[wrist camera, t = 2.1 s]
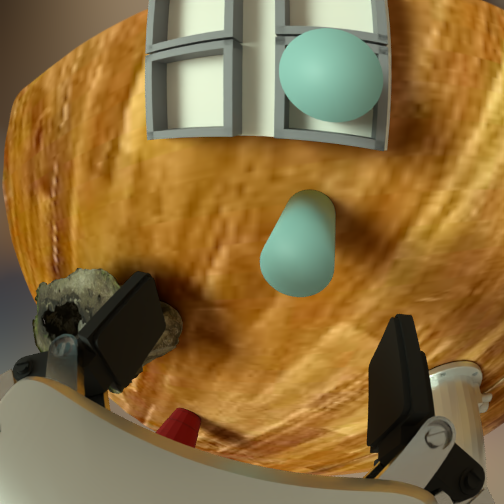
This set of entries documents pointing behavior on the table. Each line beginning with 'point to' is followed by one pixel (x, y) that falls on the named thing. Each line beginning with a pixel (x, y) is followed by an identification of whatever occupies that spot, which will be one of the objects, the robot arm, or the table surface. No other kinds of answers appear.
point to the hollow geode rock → (89, 310)
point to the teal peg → (301, 246)
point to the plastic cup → (181, 427)
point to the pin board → (269, 70)
